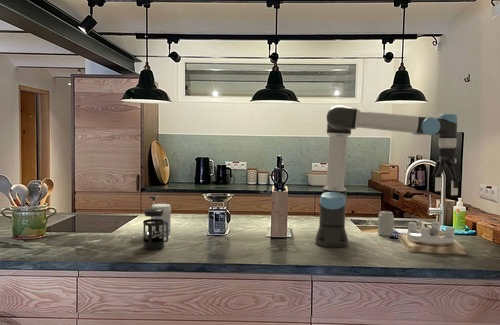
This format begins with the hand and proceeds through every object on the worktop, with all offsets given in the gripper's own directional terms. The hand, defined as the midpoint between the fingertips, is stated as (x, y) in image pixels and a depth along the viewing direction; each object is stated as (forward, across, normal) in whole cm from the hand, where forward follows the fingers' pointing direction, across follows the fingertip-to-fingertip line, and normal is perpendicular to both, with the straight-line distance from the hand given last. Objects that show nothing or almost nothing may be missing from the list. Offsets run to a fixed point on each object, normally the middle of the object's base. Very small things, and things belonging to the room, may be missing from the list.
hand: (445, 193), depth 200 cm
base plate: (+24, -2, +8) cm, 26 cm away
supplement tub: (+22, +27, +134) cm, 139 cm away
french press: (+23, +2, +134) cm, 136 cm away
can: (+24, +19, +21) cm, 37 cm away
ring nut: (+21, -3, +8) cm, 23 cm away
